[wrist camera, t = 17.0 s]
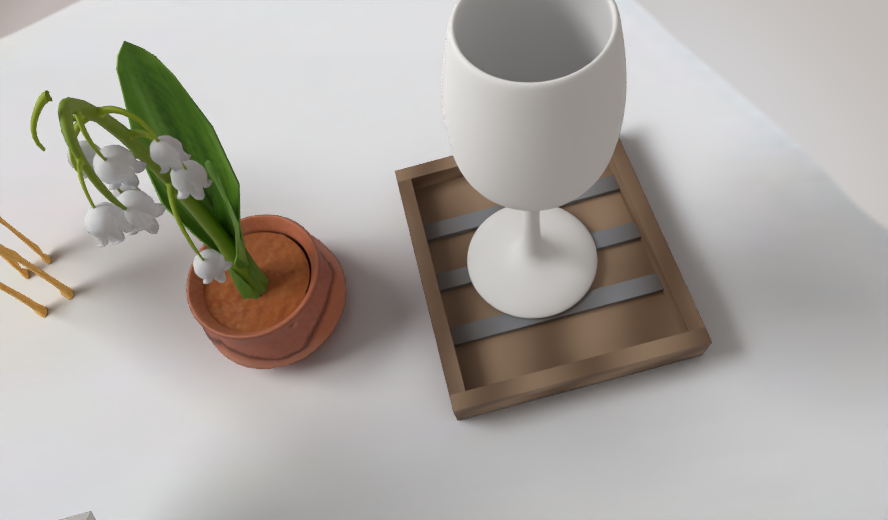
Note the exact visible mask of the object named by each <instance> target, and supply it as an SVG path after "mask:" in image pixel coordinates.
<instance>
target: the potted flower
mask: <svg viewBox="0 0 888 520" xmlns="http://www.w3.org/2000/svg"><path fill="white" fill-rule="evenodd" d="M116 70H117V74H118V78H119V81H120V85H121V89H122V94H123V98H124V102H125V106H126V110H125V109H123V108H120V107H116V106H103V107H95V106H94V105H92V104H90V103H88V102H86V101H84V100H80V99H75V98H70V97H67V98H65V99H62V100H61V102H60V103H59V108H58V116H59V122H60V126H61V132H62V134H63V136H64V139H65V141H66V143H67V145H68V147H69V149H68V154H67V158H68V162H69V164H70V165H71V166H72V168H74V169H75V170H76V171H77V173H78V177H79V180H80V183H81V186H82V188H83V190H84V193H85V195H86V197H87V199H88V200H89V202H90V204H91V206H92V207H91V208H90V209H89V210H88V211H87V214H86V217H85V227H86V229H87V230H88V232H89V233H90V234H92V235H94V236H95V237H97V238H98V240H99V245H98V246H97V247H104V246H106V245H107V244H108V239H109V240H110V241H111V242H112V243H113V244H114V245H115V244H118V243H120V242H122V241H123V240H124V239H125V238H124V234H123V231H124V232H125V233H127V234H128V235H134V234H137V233H138V232H139V231H142V230H146V231H147V232H149V233H151V234H157V232H158V230H159V225H158V223H157V221H156V219H155V218H154V217H159V216H160V215H162V214H163V213H164V211H165V209H166V210H168V211H169V212H170V213H171V214H172V215H173V216H174V217H175V219H176V221H177V223H178V225H179V227H180V229H181V231H182V232H183V234H184V236H185V237H186V239H187V240H188V242H189V244H190V245H191V246H192V248H193V249H194V251H195V252H196V253H197V255H196V256H195V258H194V261H193V263H192V265H191V268H190V271H189V274H188V279H187V290H186V292H187V300H188V304H189V307H190V310H191V312H192V313H193V315H194V317H195V319H196V320H197V321H198V322H199V323H200V325H201V326H202V327H203V329H204V331H205V333H206V334H207V336H208V338H209V339H210V340H211V341H212V343H213V344H214V345H215V346H216V347H217V349H218V350H219V351H220V352H221V353H222V354H223V355H224V356H226V357H227V358H228V359H230V360H231V361H233V362H235V363H237V364H239V365H242V366H245V367H249V368H256V369H272V368H278V367H283V366H286V365H289V364H292V363H295V362H297V361H299V360H301V359H303V358H305V357H306V356H308V355H309V354H311V353H312V352H313V351H315V350H316V349H317V348H318V347H319V346H320V345H321V344H323V343H324V342H325V340H326V339H327V338H328V337H329V336H330V334H331V333H332V332H333V330H334V328H335V327H336V325H337V324H338V322H339V319H340V317H341V315H342V312H343V308H344V304H345V299H346V281H345V277H344V272H343V270H342V267H341V265H340V263H339V261H338V260H337V258H336V257H335V256H334V254H333V253H332V252H331V251H330V250H329V249H328V248H327V247H326V246H325V245H324V244H323V243H322V242H320V241H319V240H318V239H316V238H315V237H314V236H312V235H310V233H309V232H308V231H307V230H306V229H305V228H304V227H302V226H301V225H300V224H298V223H297V222H295V221H293V220H291V219H288V218H286V217H282V216H278V215H255V216H249V217H246V218H243V219H240V185H239V182H238V179H237V177H236V175H235V173H234V171H233V169H232V167H231V164H230V162H229V160H228V158H227V156H226V154H225V151H224V149H223V147H222V145H221V143H220V141H219V139H218V136H217V134H216V132H215V130H214V128H213V126H212V125H211V123H210V122H209V121H208V119H207V118H206V117H205V115H204V114H203V113H202V111H201V110H200V109H199V107H198V106H197V105H196V103H195V102H194V101H193V99H192V98H191V97H190V95H189V94H188V93H187V91H186V90H185V89H184V87H183V86H182V85H181V83H180V82H179V81H178V79H177V78H176V77H175V76H174V75H173V73H172V72H171V71H170V70H169V69H168V68H167V67H166V66H165V65H164V64H163V63H162V62H161V61H160V60H159V59H158V58H157V57H156V56H154V55H153V54H151V53H150V52H148V51H146V50H145V49H143V48H141V47H139V46H136V45H134V44H131V43H129V42H126V41H124V42H123V45H122V47H121V49H120V51H119V53H118V55H117V67H116ZM48 101H53V100H52V98H51V97H50V95H49V91H45V92H43V93H42V94H41V95H40V96H39V98H38V100H37V102H36V104H35V107H34V110H33V113H32V118H31V133H32V137H33V139H34V141H35V143H36V145H37V146H38V147H39V148H40V149H42V150H43V151H45V148H44V147H43V145H42V144H41V143H40V142H39V139H38V137H37V132H36V127H37V121H38V118H39V115H40V113H41V110H42V109H43V107H44V105H45V104H46V103H48ZM109 113H116V114H121V115H124V116H126V117H128V119H129V123H130V127H131V130H129V129H128V128H126V127H125V126H124V125H123V124H121V123H120V122H118V121H117V120H116V119H114V118H113V117H112V116H110V115H109ZM73 114H74V116H73ZM74 121H76V122H75V124H74V125H73V122H74ZM88 121H94V122H97V123H98V124H99V125H101V126H102V127H103V128H104V129H106V130H107V131H108V132H110V133H111V134H112V135H113V136H115V137H116V138H117V139H119V140H120V141H121V142H122V143H123V144H124V145H125V146H126V147H127V148H128V149H129V150H130V151H129V150H127V149H126V148H124V147H122V146H120V145H109V146H105V147H104V148H102V149H101V148H99V147H98V146H97V145H96V144H94V143H93V141H92V139H91V138H90V136H89V134H88V132H87V130H86V128H85V125H84V124H85V123H87V122H88ZM80 130H81V132H82V134H83V135H84V137H85V139H86V140H87V141H78V139H77V136H78V134H79V132H80ZM136 159H139V160H141V161H137V160H136ZM145 168H146V170H147V173H148V175H149V177H150V179H151V181H152V184H153V186H154V188H155V190H156V192H157V195H158V197H159V199H160V201H161V203H162V204H156V203H154V201H153V199H152V198H151V197H150V196H148V195H147V194H146V193H145V192H143V191H141V190H140V189H139V188H138V185H139V180H138V177H137V175H136V174H135V173H140V172H142V171H144V169H145ZM87 177H88V178H89V180H90V181H91V182H92V183H93V184H94V186H95V187H96V188H97V189H98V190H99V191H100V192H101V193H102V194H103V195H104V196H105V197H106V198H107V199H108V200H109V201H110V202H112V203H107V202H102V203H99V204H97V205H94V204H93V202H92V200H91V198H90V195H89V193H88V191H87V188H86V185H85V182H84V178H87ZM100 179H101V180H102V181H103V182H105V183H107V184H110V186H109V190H114V192H113V194H112V193H111V192H110V191H109V190H108V189H107V187H106V186H105V185H104V184H103V183H102V181H101V180H100ZM121 183H123V184H121ZM183 225H184V226H185V227H186V228H187V229H188V230H189V231H190V232H191V233H192V234H194V235H195V236H196V237H197V238H198V239H199V240H200V241H202V242H203V243H204V245H203V246H202V248H201V249H200V250H199V251H198V250H197V249H196V247H195V245H194V244H193V242H192V241H191V239H190V237H189V235H188V234H187V232H186V230H185V228H184V226H183ZM107 238H108V239H107Z"/></svg>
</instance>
